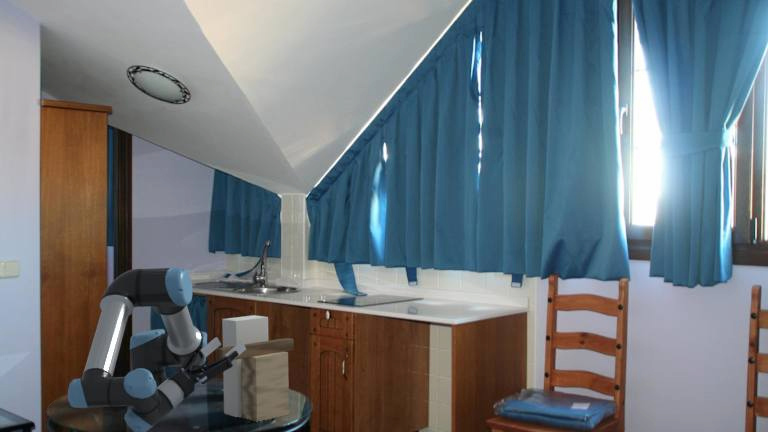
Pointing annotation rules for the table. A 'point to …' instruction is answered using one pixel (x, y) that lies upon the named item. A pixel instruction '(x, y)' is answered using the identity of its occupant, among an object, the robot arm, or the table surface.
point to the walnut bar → (260, 348)
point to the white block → (233, 334)
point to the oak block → (265, 386)
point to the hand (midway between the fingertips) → (231, 342)
